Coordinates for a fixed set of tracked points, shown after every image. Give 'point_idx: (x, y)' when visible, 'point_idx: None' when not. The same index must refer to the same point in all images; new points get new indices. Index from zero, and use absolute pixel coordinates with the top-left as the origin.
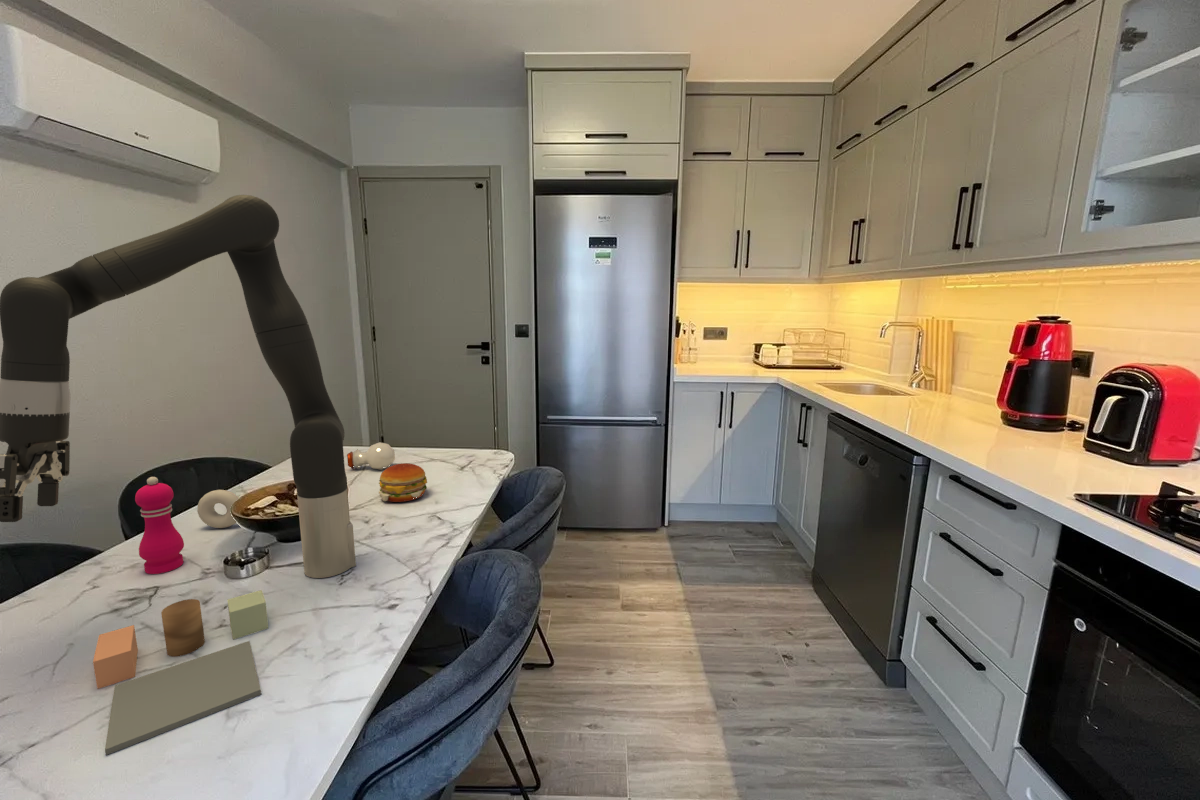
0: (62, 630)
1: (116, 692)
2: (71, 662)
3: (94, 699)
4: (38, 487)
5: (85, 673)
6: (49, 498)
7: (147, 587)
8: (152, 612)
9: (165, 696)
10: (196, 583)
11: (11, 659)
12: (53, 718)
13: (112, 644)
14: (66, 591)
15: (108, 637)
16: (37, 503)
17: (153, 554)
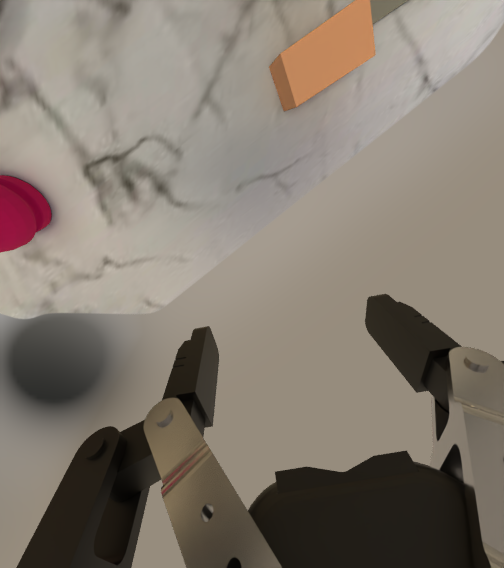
0: (208, 222)
1: (389, 7)
2: (278, 156)
3: None
4: (213, 409)
5: (308, 116)
6: (209, 352)
7: (91, 186)
8: (165, 118)
9: None
10: (54, 90)
11: (257, 230)
12: (387, 89)
13: (334, 53)
14: (123, 284)
15: (310, 80)
16: (218, 359)
17: (23, 210)
